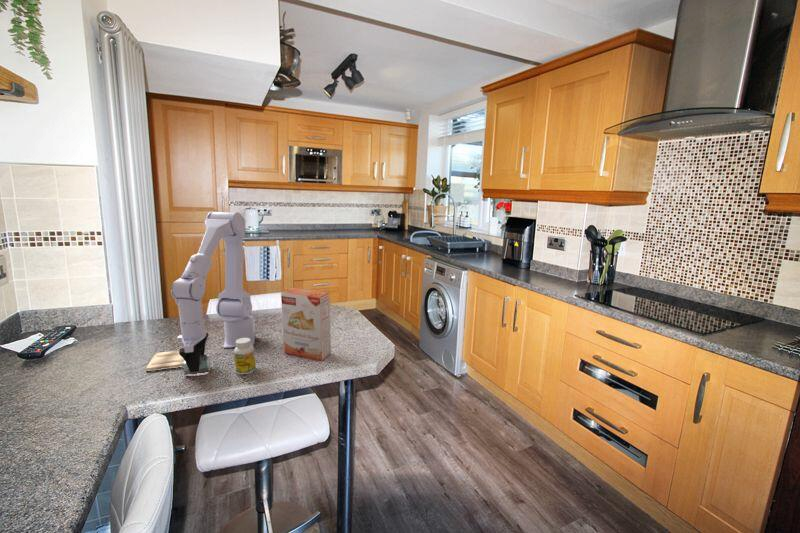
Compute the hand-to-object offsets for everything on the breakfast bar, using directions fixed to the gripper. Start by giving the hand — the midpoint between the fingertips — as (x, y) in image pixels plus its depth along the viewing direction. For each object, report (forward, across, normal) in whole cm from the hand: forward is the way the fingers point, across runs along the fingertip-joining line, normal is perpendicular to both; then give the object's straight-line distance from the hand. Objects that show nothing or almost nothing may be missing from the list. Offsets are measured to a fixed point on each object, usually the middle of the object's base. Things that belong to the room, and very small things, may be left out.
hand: (197, 364), depth 108 cm
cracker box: (+2, -3, +31) cm, 31 cm away
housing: (+2, 0, 0) cm, 3 cm away
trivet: (+2, -9, -9) cm, 13 cm away
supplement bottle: (+2, +3, +13) cm, 14 cm away
